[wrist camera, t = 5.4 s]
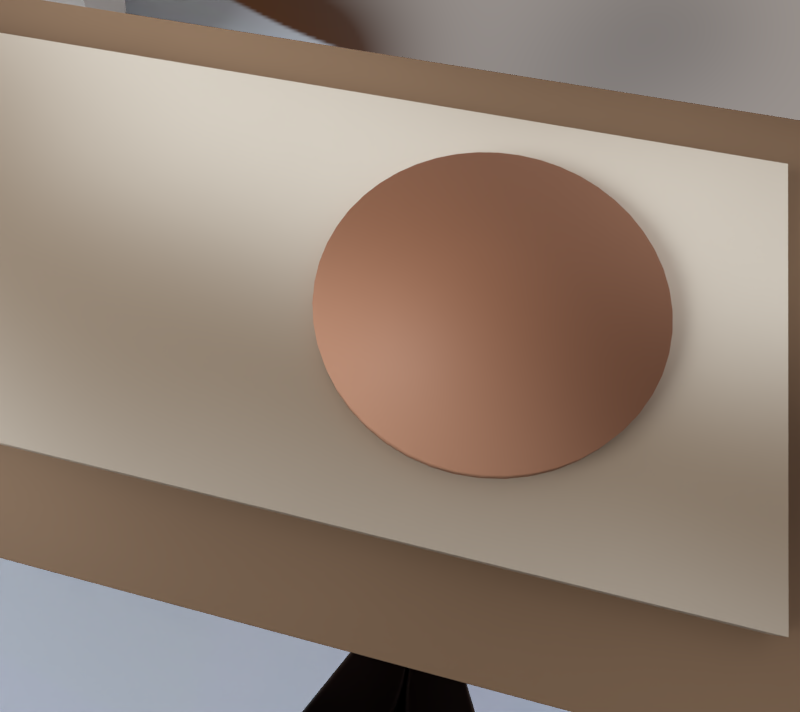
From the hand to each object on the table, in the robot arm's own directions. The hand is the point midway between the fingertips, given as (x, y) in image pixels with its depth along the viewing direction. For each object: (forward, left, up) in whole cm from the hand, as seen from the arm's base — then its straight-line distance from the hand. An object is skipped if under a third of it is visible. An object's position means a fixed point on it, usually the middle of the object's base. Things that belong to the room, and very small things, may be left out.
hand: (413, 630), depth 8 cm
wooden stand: (+8, +1, -9) cm, 12 cm away
